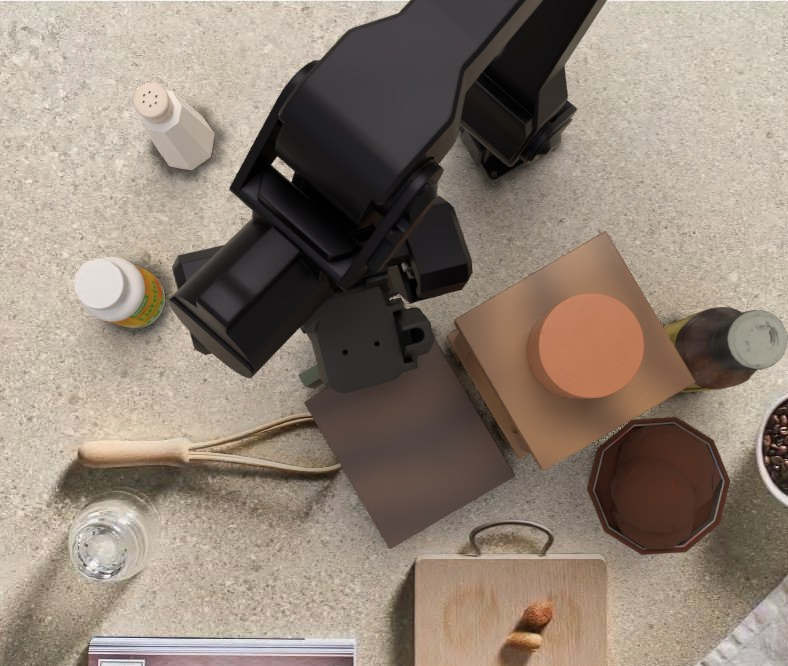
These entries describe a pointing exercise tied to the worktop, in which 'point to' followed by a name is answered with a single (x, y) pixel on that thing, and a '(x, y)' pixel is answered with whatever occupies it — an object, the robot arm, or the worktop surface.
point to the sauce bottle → (727, 345)
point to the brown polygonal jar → (658, 485)
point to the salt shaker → (173, 126)
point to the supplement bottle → (119, 292)
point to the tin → (586, 347)
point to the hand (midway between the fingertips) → (315, 312)
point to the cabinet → (411, 446)
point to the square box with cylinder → (515, 379)
